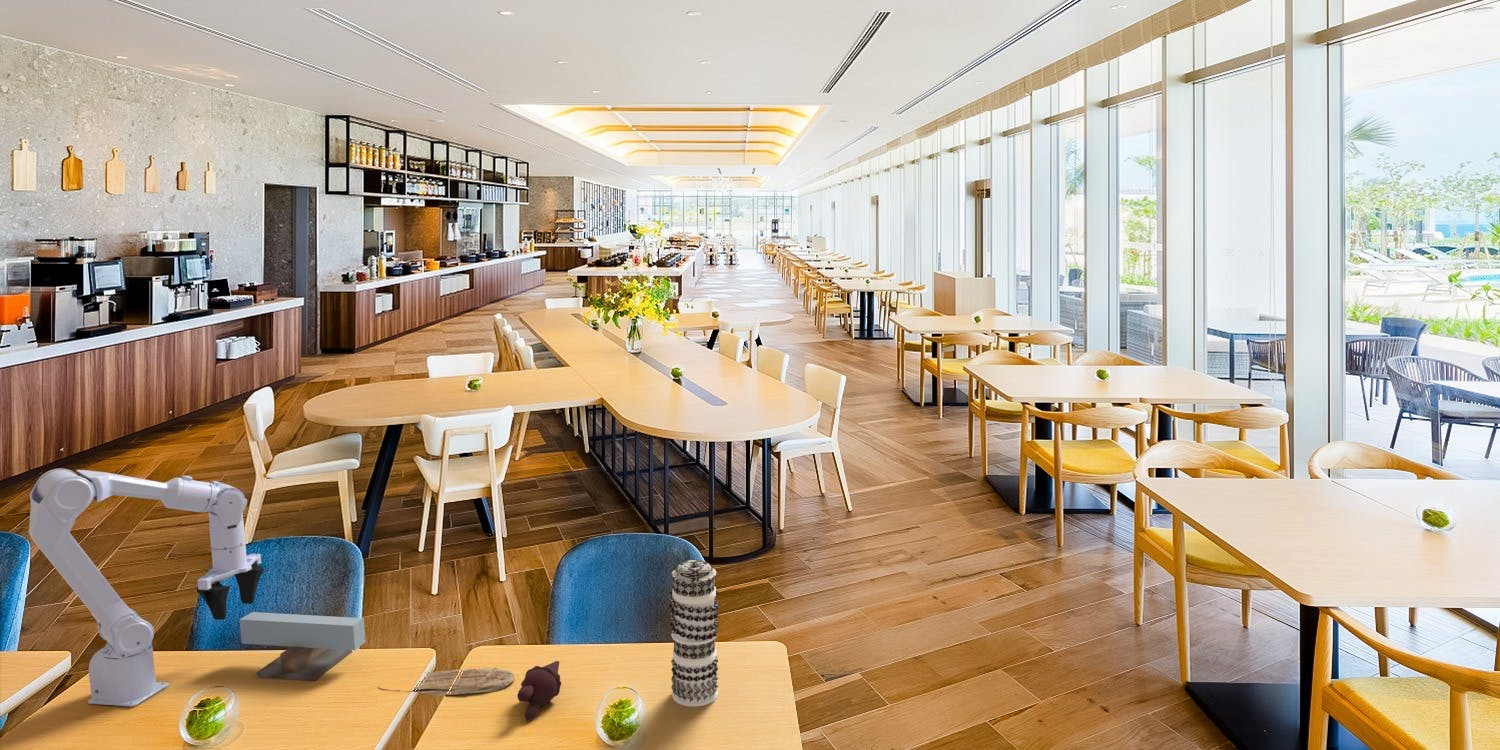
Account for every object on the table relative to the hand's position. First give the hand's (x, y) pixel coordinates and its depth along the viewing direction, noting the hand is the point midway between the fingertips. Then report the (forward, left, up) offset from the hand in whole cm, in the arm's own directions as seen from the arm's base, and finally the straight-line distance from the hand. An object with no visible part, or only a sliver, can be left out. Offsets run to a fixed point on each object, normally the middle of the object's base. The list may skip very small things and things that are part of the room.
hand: (234, 610), depth 166 cm
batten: (+15, 0, -6) cm, 16 cm away
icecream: (+66, -8, -11) cm, 68 cm away
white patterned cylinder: (+94, -2, -11) cm, 94 cm away
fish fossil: (+46, -3, -11) cm, 47 cm away
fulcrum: (+15, 0, -10) cm, 18 cm away
